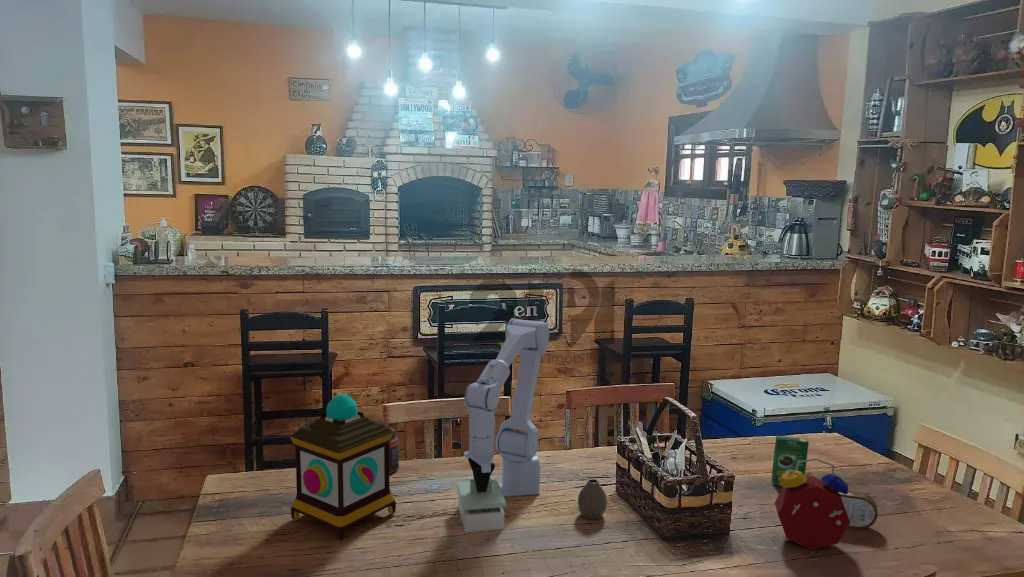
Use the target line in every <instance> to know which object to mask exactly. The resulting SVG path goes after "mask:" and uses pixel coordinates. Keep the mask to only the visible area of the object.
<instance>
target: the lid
mask: <svg viewBox="0 0 1024 577" xmlns="http://www.w3.org/2000/svg"><path fill="white" fill-rule="evenodd" d="M498 483H499V482H498V481H497V479H492V477H490V479H489V483H488V487H487V491H486V492H477V489H476V483H475V479H474V478H473V479H472V478H471V479H469V481H461V482H456V487H457V490H458V493H459V494H460V498H461V501H462V504H463V508H464V510H472V509H485V508H498V507H502V508H506V507H507V502H506V500H505V496H503V494H502V491H501V489H500V487H499V484H498Z"/></svg>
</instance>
